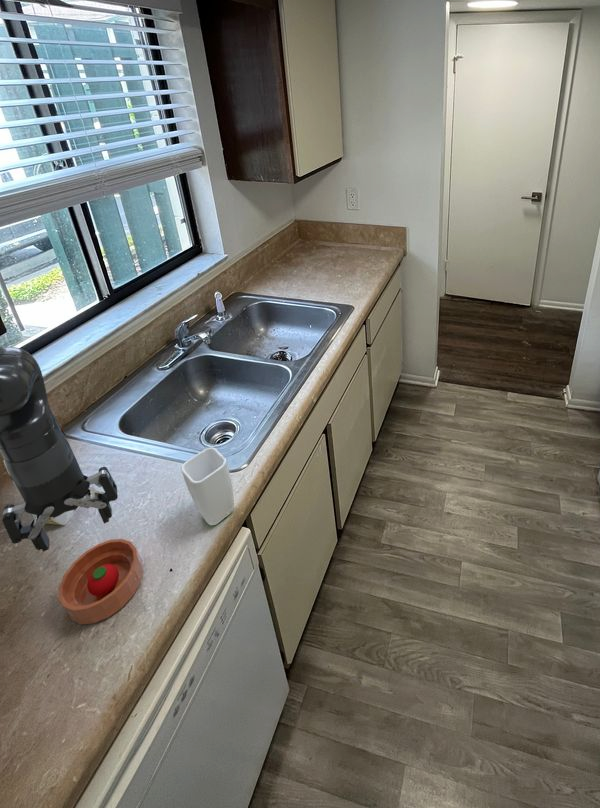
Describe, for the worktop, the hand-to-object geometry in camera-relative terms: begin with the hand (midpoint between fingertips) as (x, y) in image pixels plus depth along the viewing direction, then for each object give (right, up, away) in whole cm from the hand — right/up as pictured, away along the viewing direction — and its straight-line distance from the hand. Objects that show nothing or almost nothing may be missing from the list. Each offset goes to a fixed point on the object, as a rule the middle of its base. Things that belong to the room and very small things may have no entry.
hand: (77, 532), depth 75 cm
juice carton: (-19, -8, +22) cm, 30 cm away
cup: (+15, -8, +21) cm, 27 cm away
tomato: (0, -14, +7) cm, 16 cm away
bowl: (0, -15, +7) cm, 17 cm away
